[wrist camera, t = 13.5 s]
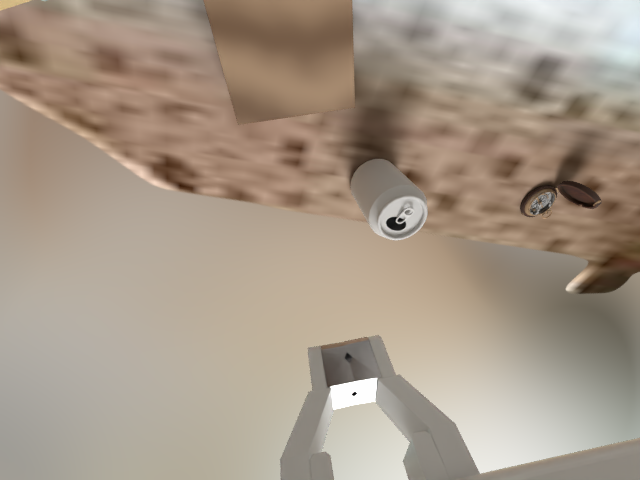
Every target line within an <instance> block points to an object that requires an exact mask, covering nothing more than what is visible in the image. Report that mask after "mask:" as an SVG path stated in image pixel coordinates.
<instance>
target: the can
mask: <svg viewBox="0 0 640 480" xmlns="http://www.w3.org/2000/svg"><path fill="white" fill-rule="evenodd" d="M350 188H351V192H352V195H353V197H354V198H355V200H356V202H357V204H358V205H359V207H360V209H361V211H362V213H363V214H364V216H365V218H366V220H367V222H368V223H369V225H370V227H371V228H372V230H373V231H374V232H375V233H376V234H378V235H380V236H382V237H385V238H387V239H391V240H402V239H405V238H408V237H410V236H412V235H413V234H415V233H416V232H417V231H418V230H419V229H420V228H421V227H422V226H423V224H424V223H425V221H426V218H427V214H428V211H427V199H426V197H425V195H424V193H423V192H422V191H421V190H420V189H419V188H418V187H417V186H416V185H415V184H413V183H412V182H411V181H410V180H409V179H408V178H407V177H406V176H405V175H404V174H403V173H402V172H400V171H399V170H398V169H397V168H396V167H395V166H394V165H393V164H392V163H390V162H389V161H387V160H384V159H373V160H370V161H367V162H365V163H364V164H362V165H361V166H359V168H358V169H357V170H356V171H355V173H354V175H353V177H352V179H351V187H350Z"/></svg>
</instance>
